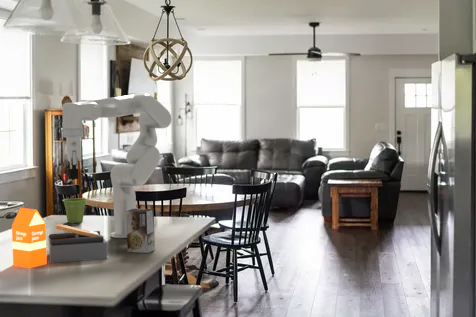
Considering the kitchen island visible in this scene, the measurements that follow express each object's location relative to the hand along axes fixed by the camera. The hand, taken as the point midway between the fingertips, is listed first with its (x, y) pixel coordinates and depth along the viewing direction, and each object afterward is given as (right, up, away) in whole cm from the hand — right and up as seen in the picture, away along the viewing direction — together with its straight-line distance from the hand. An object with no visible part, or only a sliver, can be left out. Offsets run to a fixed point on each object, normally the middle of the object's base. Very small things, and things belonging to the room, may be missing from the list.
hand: (74, 178), depth 266 cm
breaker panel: (+6, -28, -19) cm, 35 cm away
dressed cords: (+6, -22, -20) cm, 31 cm away
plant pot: (-15, -24, +61) cm, 67 cm away
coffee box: (+29, -28, -11) cm, 41 cm away
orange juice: (-8, -30, -32) cm, 44 cm away
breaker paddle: (+6, -19, -20) cm, 29 cm away
